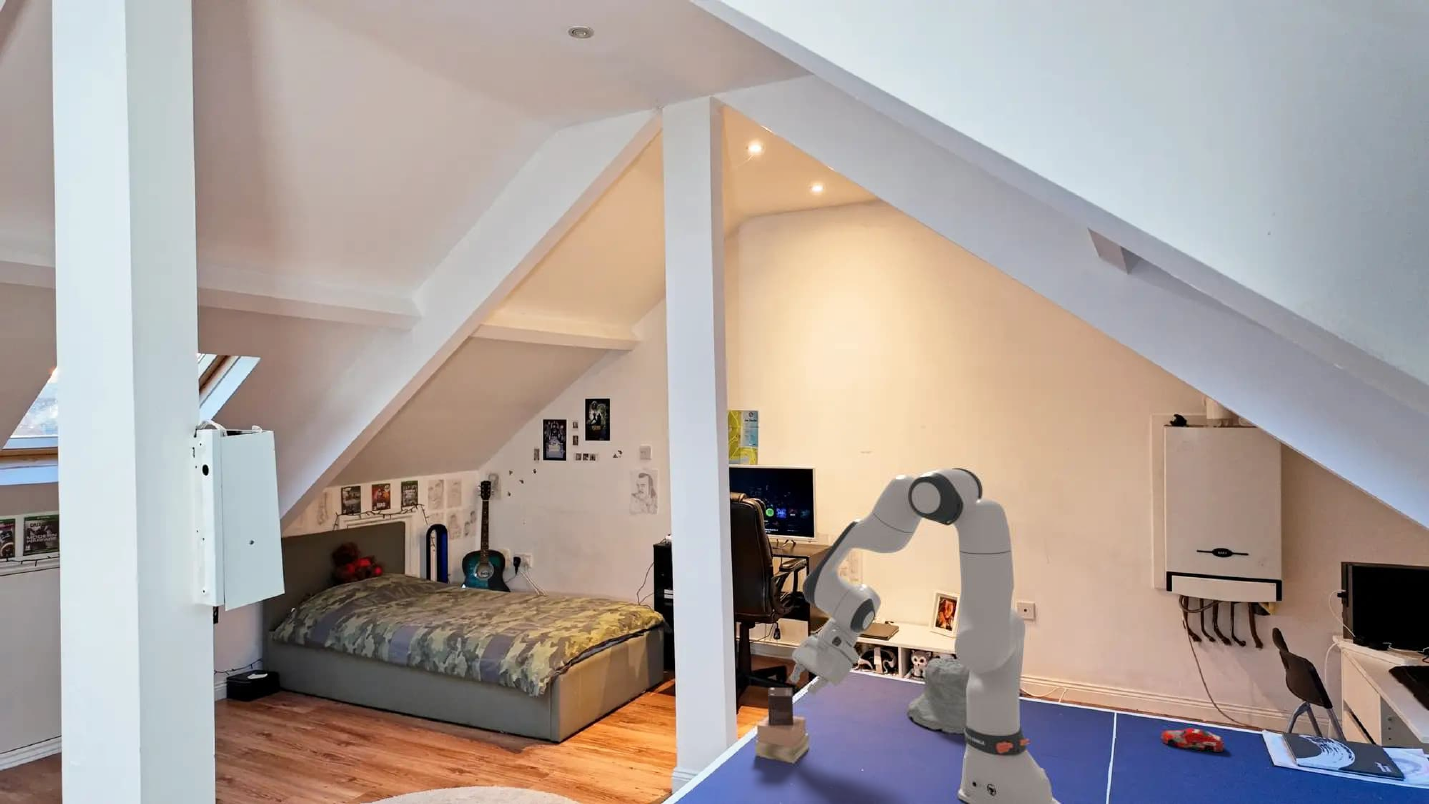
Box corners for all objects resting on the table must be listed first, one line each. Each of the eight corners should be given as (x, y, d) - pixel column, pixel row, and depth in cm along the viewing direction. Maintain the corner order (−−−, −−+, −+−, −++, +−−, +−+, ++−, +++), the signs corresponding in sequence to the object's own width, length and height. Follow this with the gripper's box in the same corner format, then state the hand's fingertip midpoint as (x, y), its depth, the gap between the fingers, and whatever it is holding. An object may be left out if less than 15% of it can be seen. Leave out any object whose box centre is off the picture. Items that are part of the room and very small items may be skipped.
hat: (902, 729, 219) (900, 671, 219) (911, 698, 240) (910, 646, 240) (1006, 740, 210) (1005, 680, 210) (1007, 707, 232) (1005, 653, 232)
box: (793, 726, 203) (792, 696, 203) (768, 725, 203) (767, 695, 203) (793, 716, 209) (792, 687, 209) (769, 716, 210) (768, 687, 209)
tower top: (805, 734, 208) (805, 718, 208) (791, 747, 200) (791, 731, 200) (772, 728, 212) (772, 712, 212) (757, 741, 204) (757, 725, 204)
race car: (1160, 746, 205) (1160, 729, 205) (1161, 737, 210) (1160, 722, 210) (1223, 756, 198) (1223, 739, 198) (1222, 747, 203) (1222, 731, 203)
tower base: (809, 749, 208) (808, 733, 208) (794, 765, 199) (793, 749, 199) (772, 742, 213) (771, 727, 213) (755, 758, 204) (755, 741, 204)
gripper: (806, 624, 220) (774, 667, 217) (847, 644, 201) (812, 691, 198) (821, 639, 222) (790, 681, 218) (863, 660, 203) (829, 707, 199)
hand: (801, 686), depth 208 cm, fingers open, 8 cm apart
